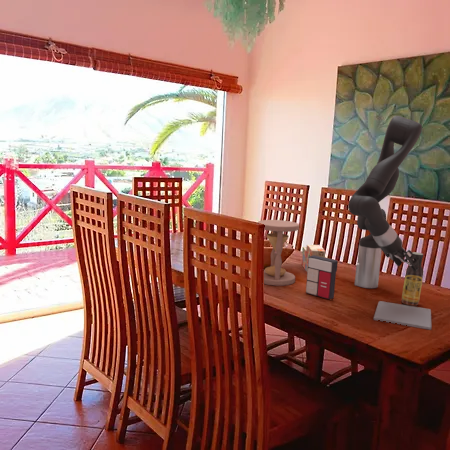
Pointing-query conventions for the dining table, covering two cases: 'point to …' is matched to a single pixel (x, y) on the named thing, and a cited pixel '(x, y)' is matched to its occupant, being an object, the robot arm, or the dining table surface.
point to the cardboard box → (311, 253)
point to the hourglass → (278, 251)
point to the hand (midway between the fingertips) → (408, 267)
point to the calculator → (321, 276)
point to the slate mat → (403, 315)
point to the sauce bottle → (413, 283)
